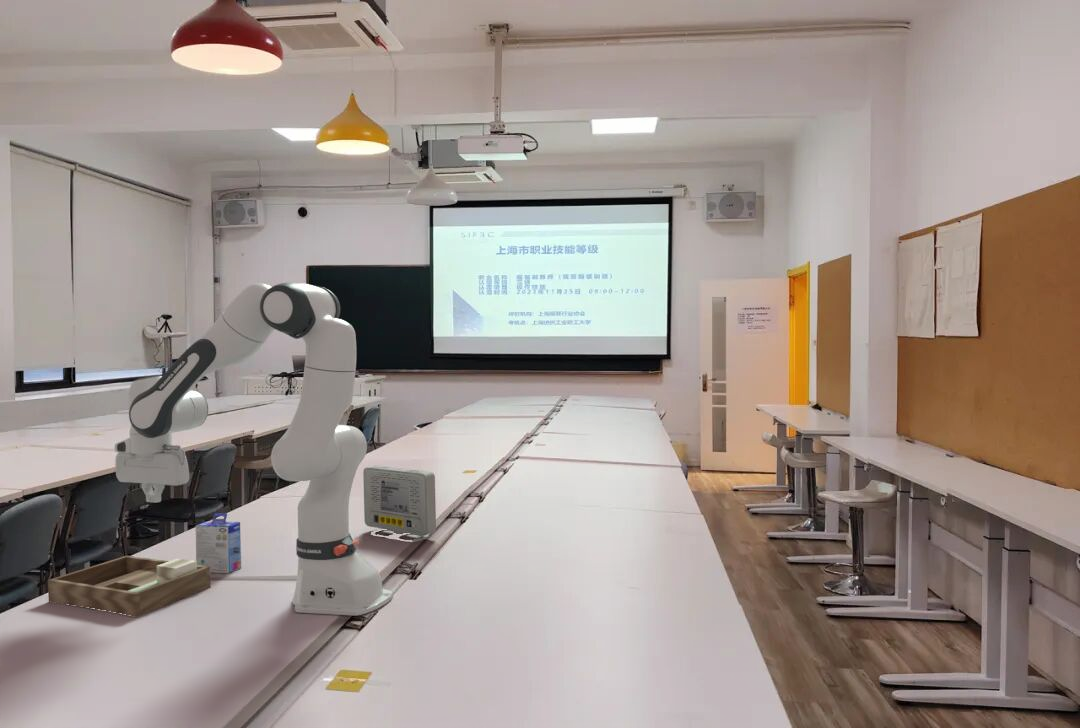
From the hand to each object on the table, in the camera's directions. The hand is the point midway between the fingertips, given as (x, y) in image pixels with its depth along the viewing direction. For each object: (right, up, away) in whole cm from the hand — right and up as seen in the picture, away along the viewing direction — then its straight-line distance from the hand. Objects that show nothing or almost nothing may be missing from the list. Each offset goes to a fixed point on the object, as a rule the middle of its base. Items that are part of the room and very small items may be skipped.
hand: (153, 501), depth 173 cm
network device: (+50, -19, +45) cm, 70 cm away
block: (+7, -18, -2) cm, 19 cm away
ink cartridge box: (+9, -21, +15) cm, 27 cm away
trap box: (-4, -21, -3) cm, 22 cm away
